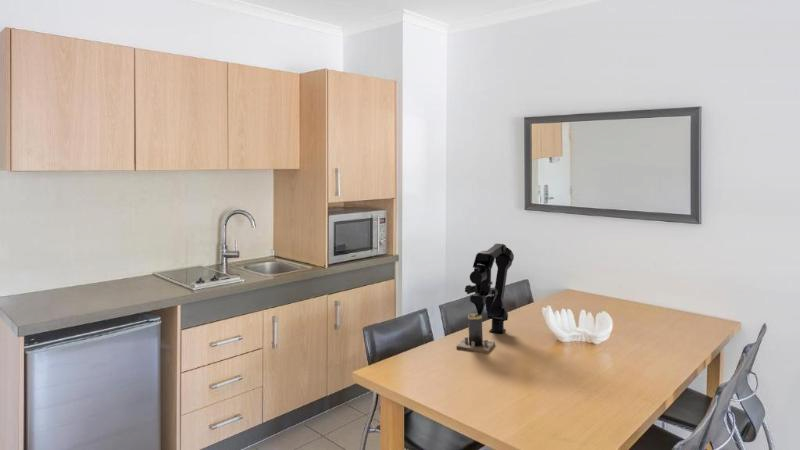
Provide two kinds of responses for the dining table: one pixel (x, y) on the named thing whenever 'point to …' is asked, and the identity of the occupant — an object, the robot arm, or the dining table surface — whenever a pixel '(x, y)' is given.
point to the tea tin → (475, 329)
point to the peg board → (483, 348)
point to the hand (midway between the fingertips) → (483, 313)
